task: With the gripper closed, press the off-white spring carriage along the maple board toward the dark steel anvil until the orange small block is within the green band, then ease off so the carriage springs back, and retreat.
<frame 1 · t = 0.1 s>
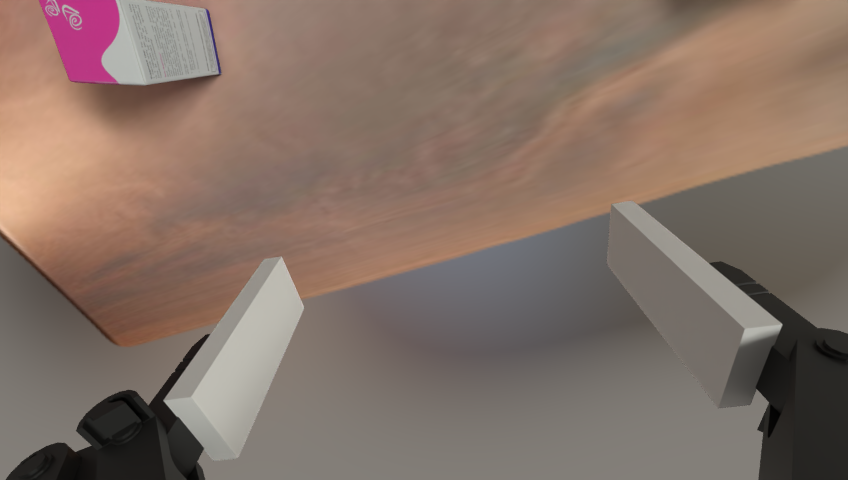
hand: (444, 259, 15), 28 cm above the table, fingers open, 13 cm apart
supplement box: (187, 40, 36), on the table
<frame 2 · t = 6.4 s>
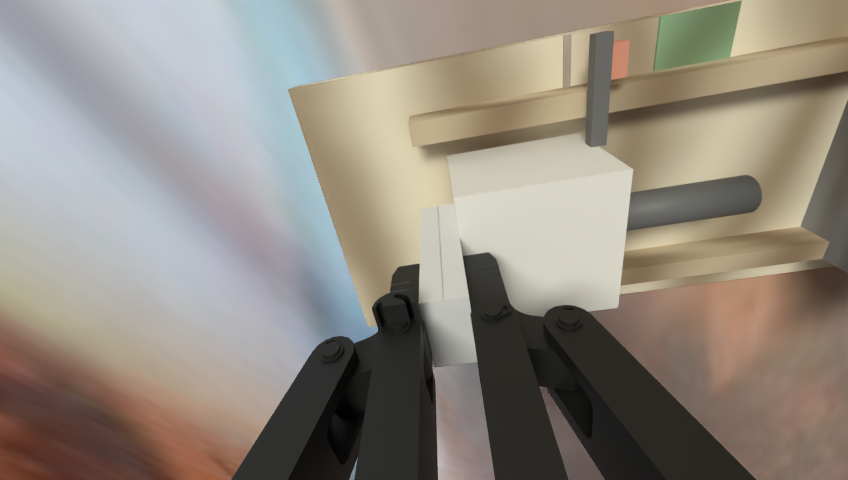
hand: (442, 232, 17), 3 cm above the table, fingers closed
orange small block: (607, 58, 14), point 3 cm above the table, slide at 1.1 cm, touching white block with rods
white block with rods: (600, 172, 15), point 4 cm above the table, slide at 1.4 cm, touching gripper, orange small block
gauge board: (598, 177, 19), on the table
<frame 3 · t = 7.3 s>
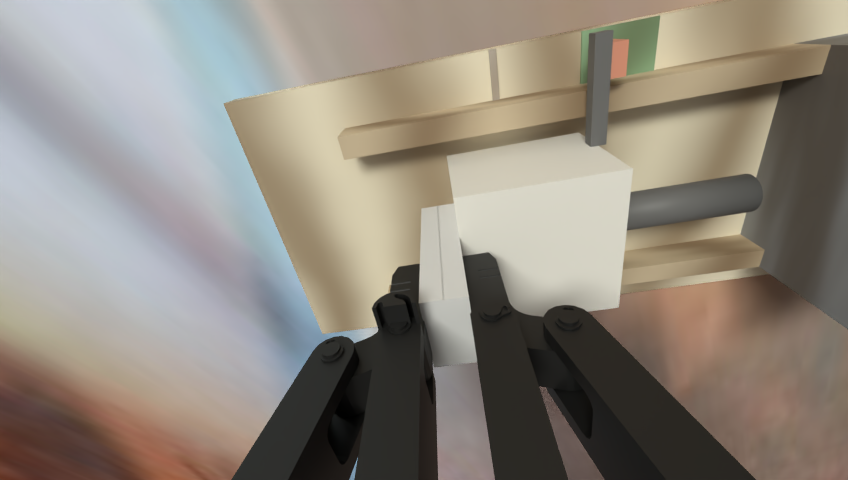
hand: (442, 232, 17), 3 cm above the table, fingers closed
orange small block: (606, 58, 14), point 3 cm above the table, slide at 4.1 cm, touching white block with rods
white block with rods: (600, 172, 15), point 4 cm above the table, slide at 4.4 cm, touching gripper, orange small block
gauge board: (540, 187, 19), on the table
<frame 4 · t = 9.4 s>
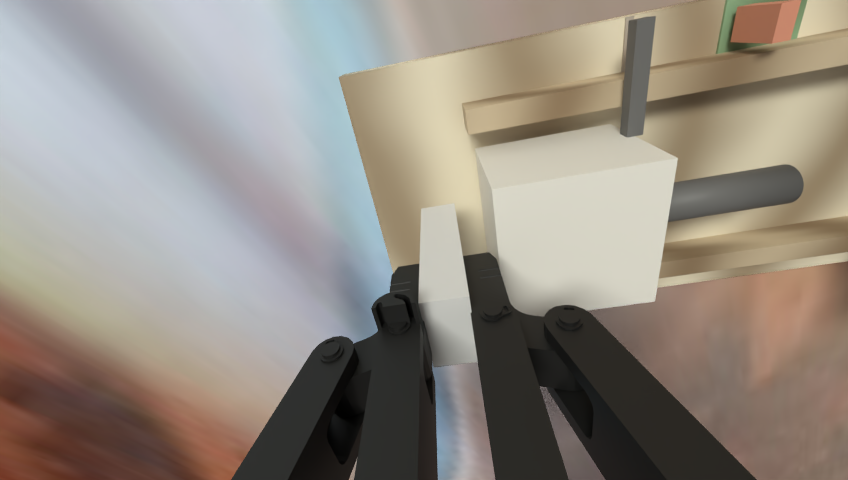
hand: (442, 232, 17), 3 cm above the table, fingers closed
orange small block: (762, 22, 13), point 3 cm above the table, slide at 4.1 cm
white block with rods: (636, 163, 14), point 4 cm above the table, slide at 0.3 cm
gauge board: (648, 166, 19), on the table
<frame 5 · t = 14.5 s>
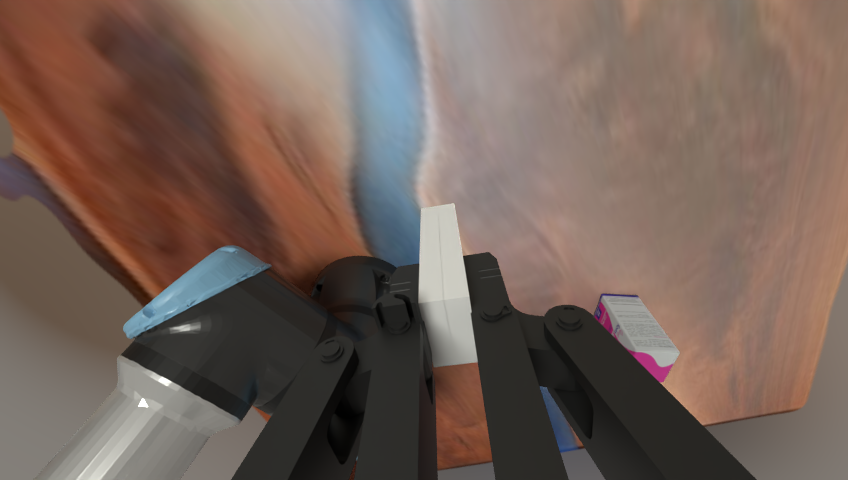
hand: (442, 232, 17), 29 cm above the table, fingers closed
supplement box: (612, 307, 57), on the table
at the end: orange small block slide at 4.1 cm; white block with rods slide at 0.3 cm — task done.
